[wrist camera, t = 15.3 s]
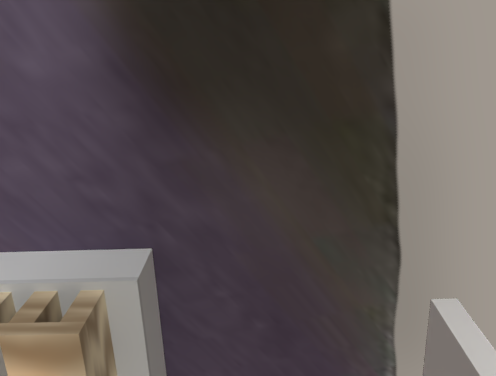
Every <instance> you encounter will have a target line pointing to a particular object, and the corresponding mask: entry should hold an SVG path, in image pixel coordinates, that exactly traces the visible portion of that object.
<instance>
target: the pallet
mask: <svg viewBox="0 0 496 376" xmlns="http://www.w3.org/2000/svg"><path fill="white" fill-rule="evenodd" d="M0 347H1V351H2V355H3V358H4V362H5V366H6V370H7V374H8V376H117V370H116V364H115V357H114V351H113V345H112V338H111V332H110V326H109V319H108V313H107V306H106V300H105V294H104V290H81V291H80V292H79V294H78V295H77V297H76V298H75V300H74V301H73V303H72V304H71V306H70V307H69V309H68V310H67V312H66V313H65V315H64V316H63V317H62V312H61V307H60V301H59V296H58V291H34V292H33V294H32V295H31V296H30V297H29V299H28V300H27V301H26V302H25V303H24V305H23V306H22V307H21V308H20V309H19V311H18V312H17V313H16V310H15V306H14V302H13V297H12V293H11V292H0Z"/></svg>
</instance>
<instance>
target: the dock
mask: <svg viewBox="0 0 496 376" xmlns="http://www.w3.org/2000/svg"><path fill="white" fill-rule="evenodd" d="M81 290H104V294H105V300H106V306H107V313H108V319H109V326H110V332H111V338H112V345H113V351H114V357H115V364H116V370H117V376H167V375H166V366H165V358H164V349H163V340H162V332H161V323H160V314H159V305H158V297H157V288H156V279H155V271H154V262H153V253H152V249H114V250H75V251H37V252H0V292H11V293H12V297H13V302H14V306H15V310H16V313H17V312H18V311H19V309H20V308H21V307H22V306H23V305H24V303H25V302H26V301H27V300H28V299H29V297H30V296H31V295H32V294H33V292H34V291H58V296H59V301H60V307H61V312H62V317H63V316H64V315H65V313H66V312H67V310H68V309H69V307H70V306H71V304H72V303H73V301H74V300H75V298H76V297H77V295H78V294H79V292H80V291H81Z"/></svg>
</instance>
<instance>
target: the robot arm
mask: <svg viewBox="0 0 496 376" xmlns="http://www.w3.org/2000/svg"><path fill="white" fill-rule="evenodd" d="M0 376H8V374H7V370H6V366H5V362H4V358H3V355H2V351H1V347H0ZM423 376H496V350H495V349H494V348H493V346H492V345H491V344H490V342H489V341H488V340H487V338H486V337H485V336H484V334H483V333H482V331H481V330H480V329H479V327H478V326H477V325H476V323H475V322H474V321H473V319H472V318H471V317H470V315H469V314H468V312H467V311H466V310H465V308H464V307H463V306H462V304H461V303H460V302H459V300H458V299H457V298H456V299H431V302H430V311H429V322H428V330H427V340H426V349H425V358H424V367H423Z"/></svg>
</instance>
